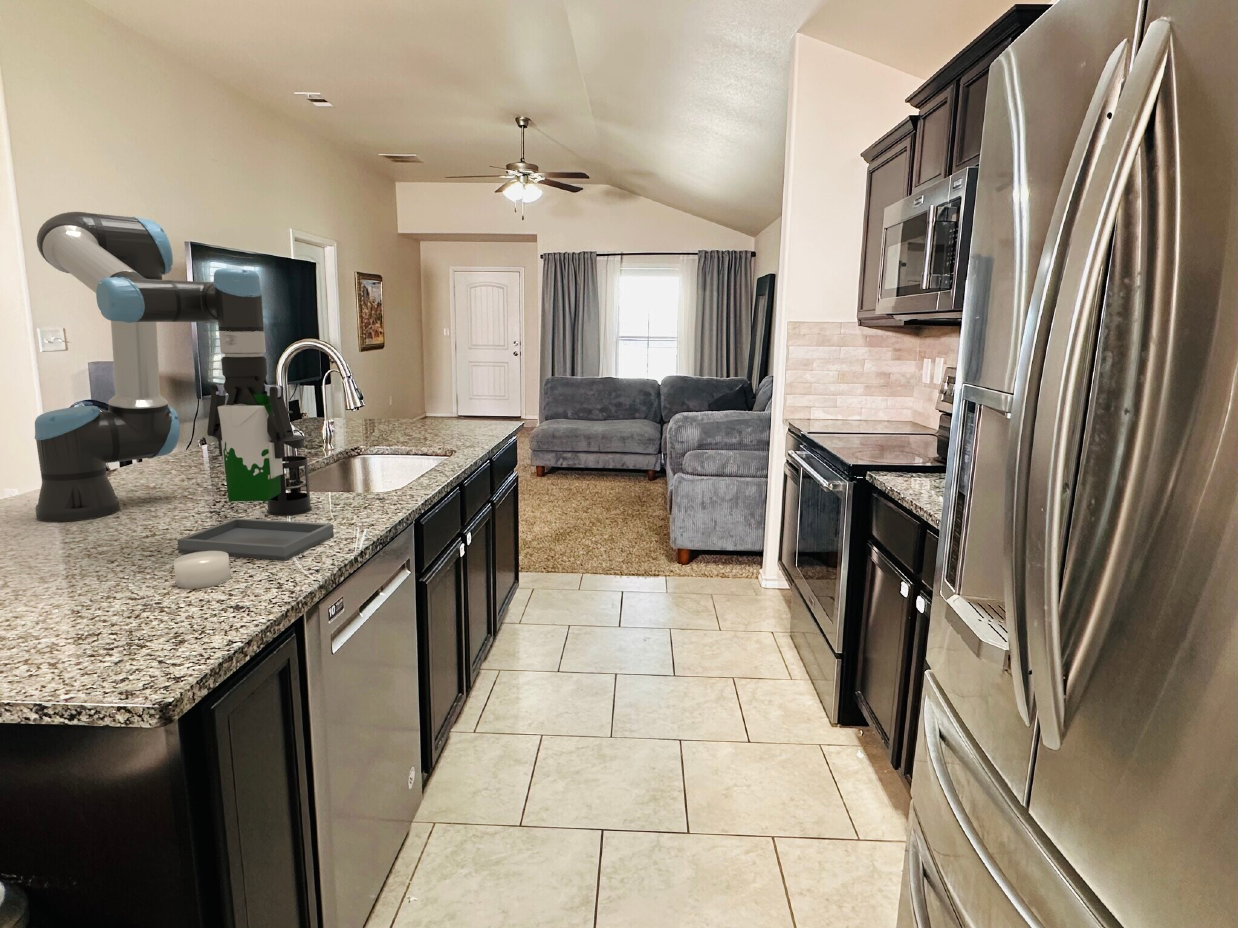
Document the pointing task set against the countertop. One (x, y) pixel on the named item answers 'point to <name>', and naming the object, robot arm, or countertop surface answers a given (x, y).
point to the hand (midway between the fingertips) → (253, 474)
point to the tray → (257, 538)
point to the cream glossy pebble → (202, 569)
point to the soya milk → (248, 451)
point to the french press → (292, 483)
